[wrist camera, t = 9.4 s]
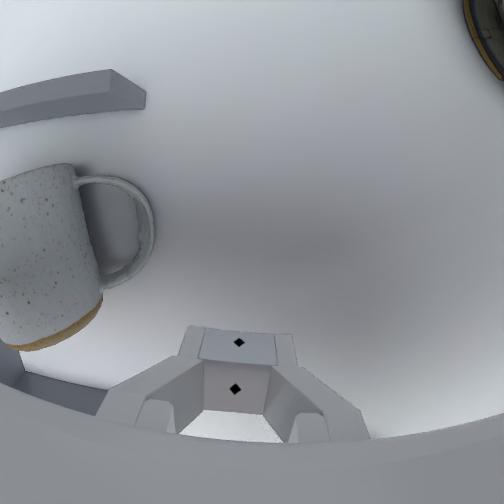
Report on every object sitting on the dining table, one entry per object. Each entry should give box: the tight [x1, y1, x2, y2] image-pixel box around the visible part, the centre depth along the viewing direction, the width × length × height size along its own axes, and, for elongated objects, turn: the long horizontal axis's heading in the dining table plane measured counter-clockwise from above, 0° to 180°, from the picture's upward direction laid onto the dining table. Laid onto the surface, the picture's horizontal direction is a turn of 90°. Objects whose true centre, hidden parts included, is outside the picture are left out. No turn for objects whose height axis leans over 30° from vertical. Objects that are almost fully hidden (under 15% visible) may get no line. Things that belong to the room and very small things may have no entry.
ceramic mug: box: [0, 163, 155, 351], centre depth 14 cm, size 11×8×8 cm
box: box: [0, 69, 146, 416], centre depth 15 cm, size 13×21×5 cm, turn 177°
